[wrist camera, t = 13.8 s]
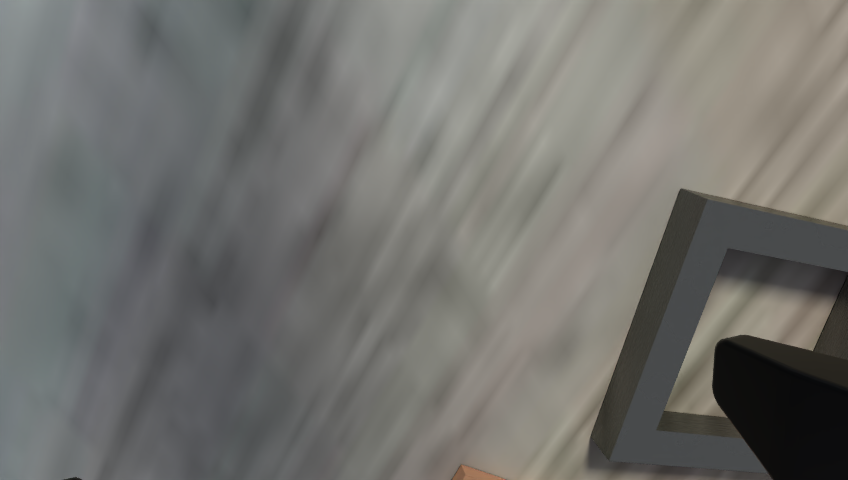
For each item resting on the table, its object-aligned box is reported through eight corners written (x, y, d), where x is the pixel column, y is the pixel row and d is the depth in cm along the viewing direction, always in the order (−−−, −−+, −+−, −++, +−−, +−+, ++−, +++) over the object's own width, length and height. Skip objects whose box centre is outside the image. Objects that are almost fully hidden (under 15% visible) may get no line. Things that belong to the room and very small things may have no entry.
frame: (590, 437, 25) (609, 460, 24) (680, 188, 22) (707, 199, 21) (794, 454, 28) (821, 477, 26) (896, 237, 25) (932, 249, 24)
